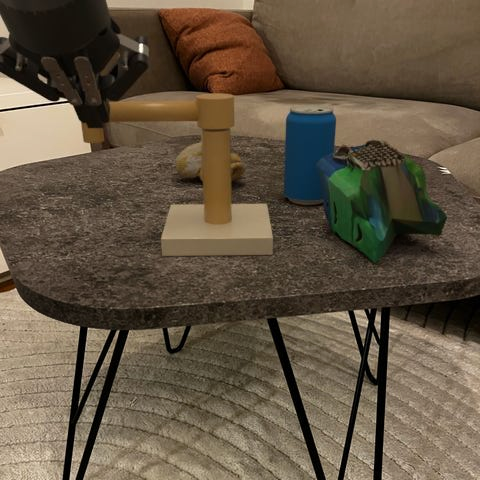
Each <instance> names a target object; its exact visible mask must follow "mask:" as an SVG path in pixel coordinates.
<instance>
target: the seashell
mask: <svg viewBox="0 0 480 480" xmlns="http://www.w3.org/2000/svg"><path fill="white" fill-rule="evenodd" d="M174 165H175V170H176V172H178V174H179V175H180V176H183V177H184V178H186V179H195V178H197V177H199V179H200V181H201V182H202V183H203V173H202V146H201V141H200V142H198V143H193V144H191V145H188V146H186V147H185V148H184V149H182V151H180V153H179V154H178V155H177V156H176V159H175V162H174ZM246 167H247V166H246V164H245V163H242V159H241V157H240V156H239V155H238V154H237V153H233V152H231V183H233V182H234V181H235V180H237V179H239V178H240V177H241V176H243V175H244V173H245V172H246V171H247V168H246Z"/></svg>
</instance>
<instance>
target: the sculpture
mask: <svg viewBox="0 0 480 480" xmlns="http://www.w3.org/2000/svg"><path fill="white" fill-rule="evenodd" d="M384 141H385V140H383V139H381V140H379V139H378V140H375V139H371V140H368V141H366V142H365V143H364V144H362V145H356V146H353V145H351V146H348V145H346V144H345V143H344V144H342V145H339V147H338V149H337V150H336V151H334V153H332V154H330V155H327V156H325V157H323V158H321V159H320V160H319V162H318V163H317V169H318V173H319V177H320V182H321V188H322V195H323V201H324V202H323V210H324V214H325V218H326V221H327V222H328V224H329V227H330V230H331V231H332V232H333V234H337V235H338V236H339V237H340V239H342V240H343V241H345V242H347V243H349V244H350V245H351V246H352V247H354V248H356V249H357V251H358V252H360V253H362V254H364V256H365V258H366V259H368V260H369V261H371V262H372V263H374V264H376V263H377V262H378V261H379V260H380V259H381V258H383V257H384V256H385V254H386V253H387V251H388V250H389V248H390V246H391V245H392V243H393V241H394V240H395V238H396V237H397V235H398V234H404V235H408V234H409V235H431V236H437V237H440V236H441V235H443V234H442V233H443V229H444V227H445V224H446V222H447V220H448V216H447V214H446V212H445V211H444V210H443V208H442V207H441V206H440V205H439V204H437V203H435V201H433V200H431V198H430V195H429V194H428V190H427V179H426V172H425V170H424V168H423V167H420V166H418V165H417V163H415V161H414V160H413V159H410V158H409V157H407V156H406V155H405V154H403V152H401V151H400V150H398V149H397V148H395V147H394V146H392V145H391V144H390V143H389V142H387V141H386V142H384Z"/></svg>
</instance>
